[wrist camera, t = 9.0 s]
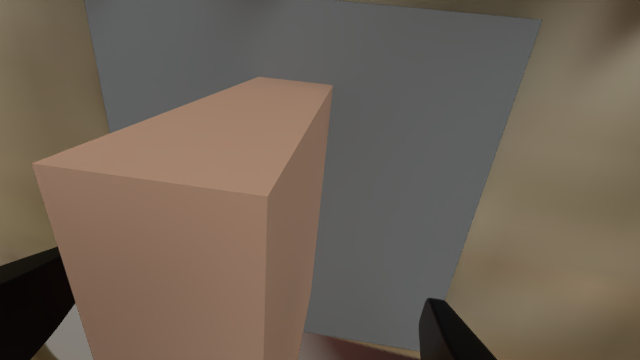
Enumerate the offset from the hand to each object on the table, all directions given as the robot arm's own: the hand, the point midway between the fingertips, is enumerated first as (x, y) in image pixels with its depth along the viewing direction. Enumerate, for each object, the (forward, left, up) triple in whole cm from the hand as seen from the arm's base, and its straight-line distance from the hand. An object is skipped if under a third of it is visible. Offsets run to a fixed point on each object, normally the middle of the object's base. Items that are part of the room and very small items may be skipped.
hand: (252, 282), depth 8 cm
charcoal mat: (0, 0, -5) cm, 5 cm away
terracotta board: (0, 0, -4) cm, 5 cm away
